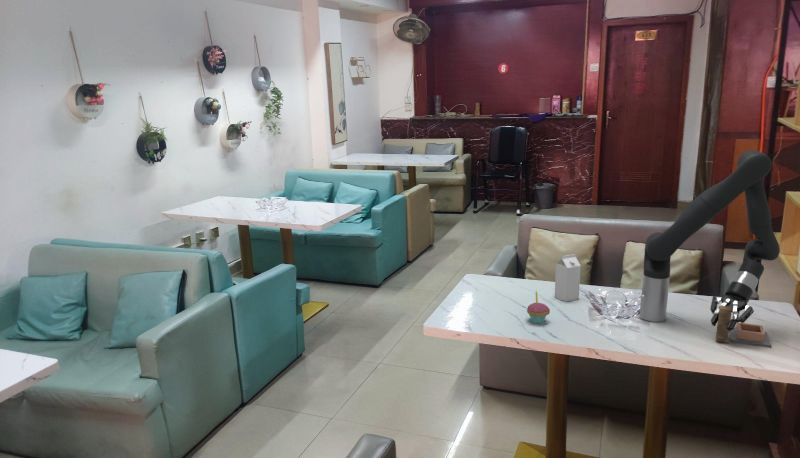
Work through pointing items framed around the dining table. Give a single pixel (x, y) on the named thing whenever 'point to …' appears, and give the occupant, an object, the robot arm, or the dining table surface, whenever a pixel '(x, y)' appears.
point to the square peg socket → (750, 335)
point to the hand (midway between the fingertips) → (720, 326)
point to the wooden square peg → (723, 323)
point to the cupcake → (538, 311)
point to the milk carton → (567, 278)
